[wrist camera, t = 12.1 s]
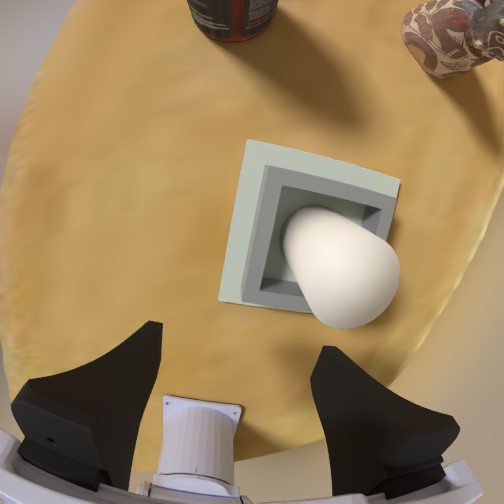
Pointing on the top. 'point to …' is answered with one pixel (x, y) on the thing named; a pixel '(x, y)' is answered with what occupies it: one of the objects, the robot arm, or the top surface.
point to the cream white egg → (339, 266)
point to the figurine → (454, 35)
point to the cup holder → (282, 206)
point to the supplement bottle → (232, 17)
